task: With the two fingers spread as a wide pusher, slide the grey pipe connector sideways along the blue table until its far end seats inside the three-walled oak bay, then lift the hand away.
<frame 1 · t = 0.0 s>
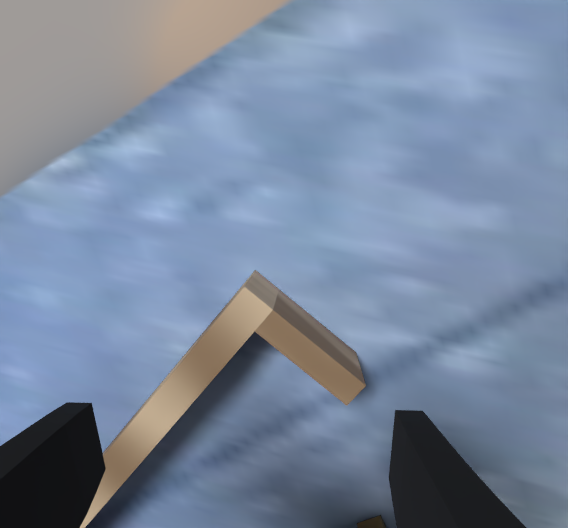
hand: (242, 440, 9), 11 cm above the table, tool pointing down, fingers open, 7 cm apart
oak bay: (187, 453, 22), on the table
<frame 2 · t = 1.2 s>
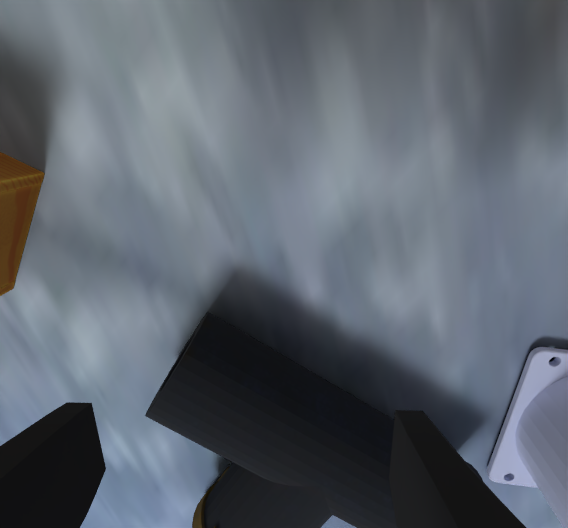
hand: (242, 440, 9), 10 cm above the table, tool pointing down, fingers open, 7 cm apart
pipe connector: (285, 441, 22), on the table
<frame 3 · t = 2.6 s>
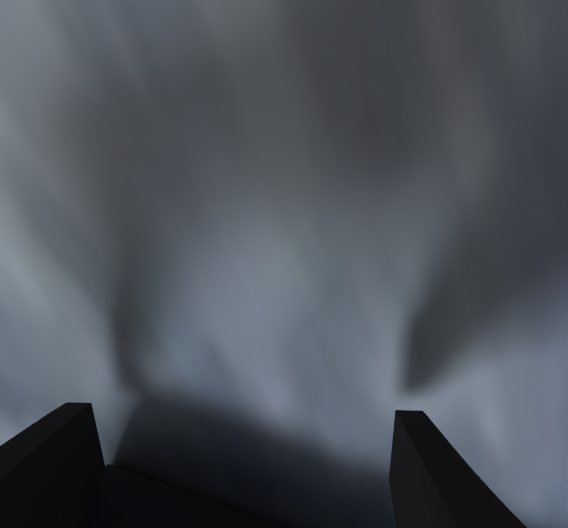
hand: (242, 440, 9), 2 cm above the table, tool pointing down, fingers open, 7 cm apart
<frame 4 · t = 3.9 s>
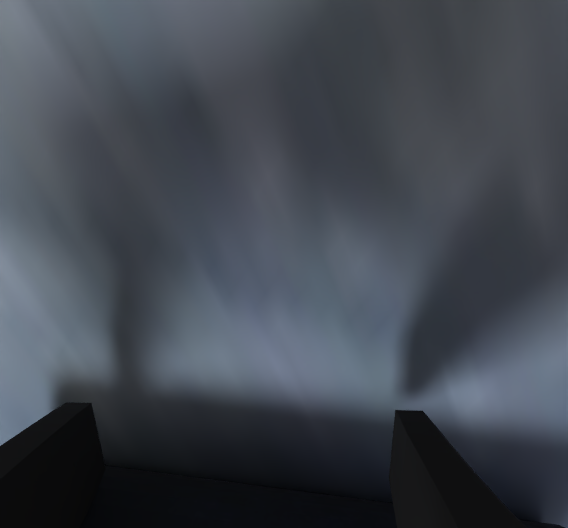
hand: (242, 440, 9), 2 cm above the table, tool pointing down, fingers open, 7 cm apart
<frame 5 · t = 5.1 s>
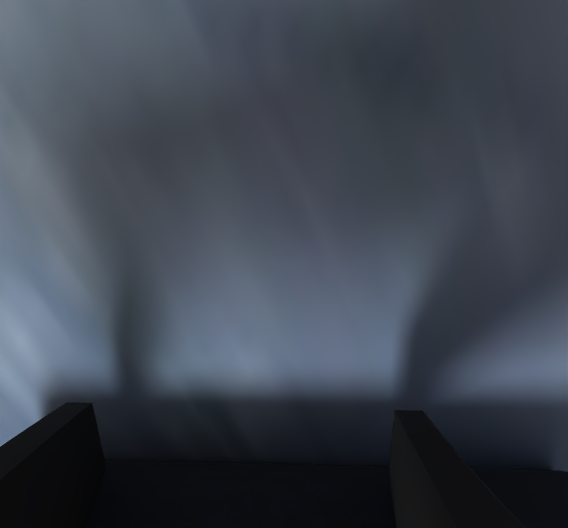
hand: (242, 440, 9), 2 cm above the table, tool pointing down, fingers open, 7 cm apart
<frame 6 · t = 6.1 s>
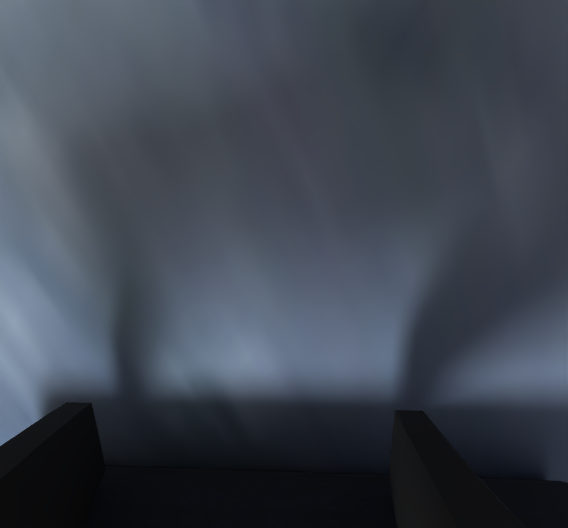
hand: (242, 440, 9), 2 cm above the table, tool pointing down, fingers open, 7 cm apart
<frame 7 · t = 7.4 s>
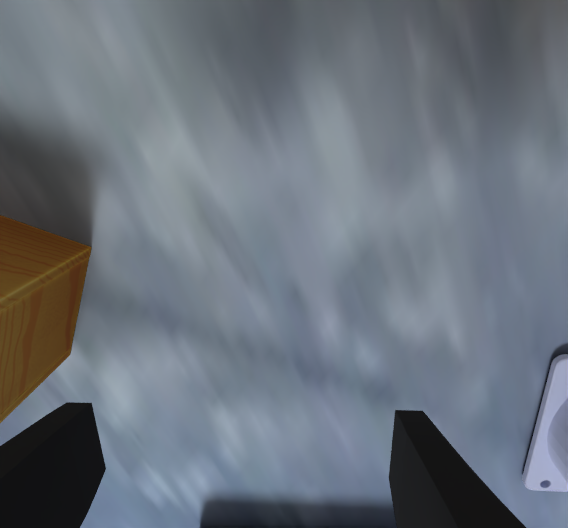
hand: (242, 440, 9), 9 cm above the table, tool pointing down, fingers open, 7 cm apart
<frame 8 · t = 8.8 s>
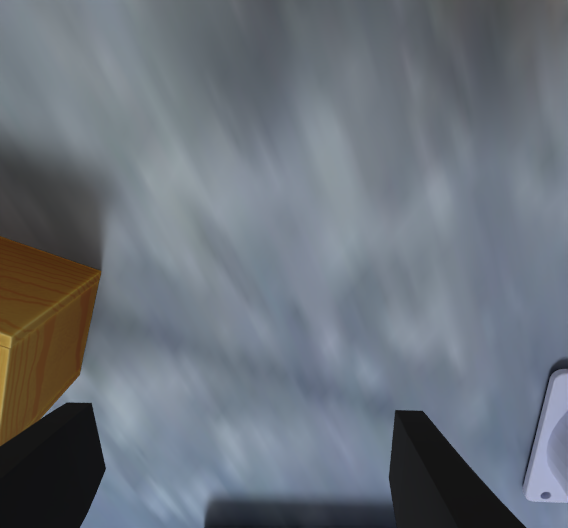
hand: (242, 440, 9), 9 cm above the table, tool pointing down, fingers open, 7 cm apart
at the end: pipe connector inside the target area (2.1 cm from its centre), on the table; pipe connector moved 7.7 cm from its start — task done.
